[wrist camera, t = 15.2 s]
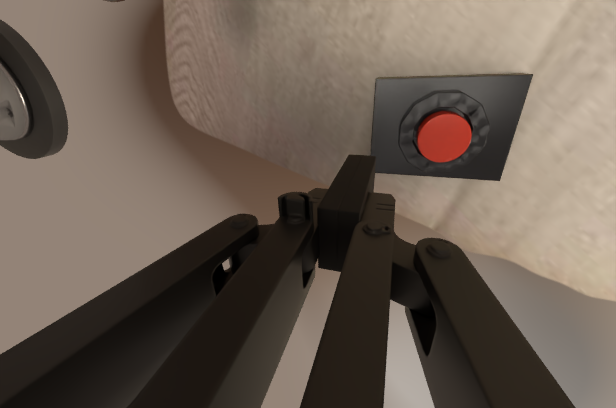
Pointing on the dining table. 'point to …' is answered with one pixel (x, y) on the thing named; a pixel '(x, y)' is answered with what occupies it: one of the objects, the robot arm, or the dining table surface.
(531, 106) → the dining table surface
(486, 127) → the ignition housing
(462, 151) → the button
